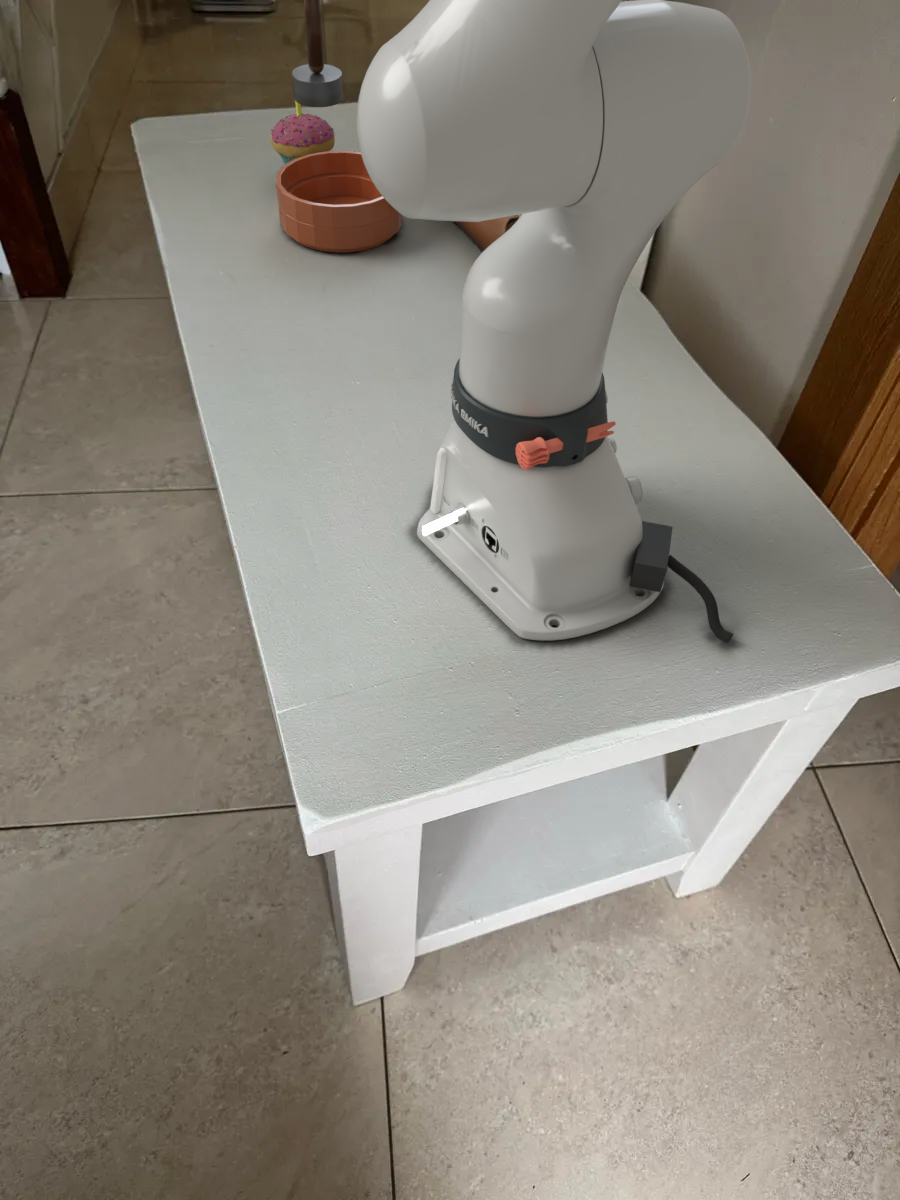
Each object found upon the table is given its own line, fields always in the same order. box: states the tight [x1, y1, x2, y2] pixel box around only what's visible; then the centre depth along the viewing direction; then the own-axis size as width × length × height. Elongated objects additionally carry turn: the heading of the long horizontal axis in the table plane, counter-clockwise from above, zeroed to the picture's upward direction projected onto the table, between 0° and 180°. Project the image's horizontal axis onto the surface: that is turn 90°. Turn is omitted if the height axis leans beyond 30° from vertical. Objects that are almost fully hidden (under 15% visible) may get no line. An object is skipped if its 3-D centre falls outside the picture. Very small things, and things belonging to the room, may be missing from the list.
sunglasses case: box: [452, 214, 520, 253], centre depth 115 cm, size 18×7×7 cm
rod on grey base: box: [291, 0, 344, 108], centre depth 92 cm, size 5×5×18 cm
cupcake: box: [270, 100, 336, 166], centre depth 122 cm, size 9×8×12 cm
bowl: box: [275, 150, 404, 253], centre depth 115 cm, size 15×15×6 cm
